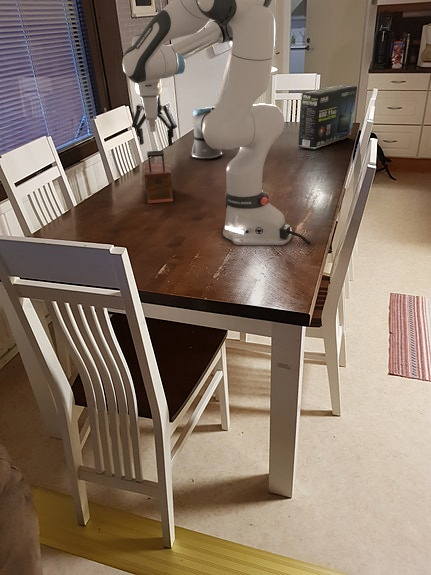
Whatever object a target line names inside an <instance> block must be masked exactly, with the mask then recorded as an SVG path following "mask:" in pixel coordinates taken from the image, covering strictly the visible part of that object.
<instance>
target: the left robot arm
mask: <svg viewBox="0 0 431 575" xmlns="http://www.w3.org/2000/svg"><path fill="white" fill-rule="evenodd" d="M223 23H224V22H223ZM232 42H233V31H232V28H231V26H230V24H229V23H228V24H226V25H225V26H221V25H219V24H218V23H217V22H216V21H214V20H212V21H211V22H210V23H209V26H207V27H204V28H203V29H201V30H200V31H199V32H197V33H195V34H191V35H188V36H186V37H184V38H183V39H181V40H179V41H177V42H175V43H173V44H170V45H169V46H170V47H172V48H173V49H174V51H175V52H176V54H177V57H178V69H177V72H176V73H175V75H176V76H177V75H181V74H183V73H184V72H185V70H186V60H187V59H190V58H191V57H193V56H196V55H197V54H199V53H201V52H203V51H205V50H207V49H209V48H211V47H213V46H215V45H218V46H219V45H223V44H224V43H228V45H229V48H230V49H229V52H228V56H227V60H226V64H225V66H224V73H223V76H222V80H221V83H220V86H219V92H218V94H217V99H216V103H215V104H213V105H212V106H205V107H197V108H194V109H193V110H192V123H193V138H194V139H193V144H192V149H191V158H193V159H195V160H200V161H202V160H204V161H207V160H208V161H209V160H215V159H216V160H217V159H219V158H221V157H222V156H223V151H222V149H212V148H211V147H210V146H209V145H208V144H207V143H206V141H205V139H204V137H203V132H202V128H203V123H204V120H205V118H206V116H207V115H208V114H210V113H211V112H212V111H213V110H214V109H215V107H216V106H217V105H218V103H219V102H220V100H221V98H222V96H223V94H224V92H225V89H226V86H227V83H228V78H229V70H230V62H231V51H232ZM161 100H162V99H161V92H160V93H159V97H158V100H157V119H160V121H161V122H162V123H163V124H164V125H165V127H166V128H167V130H166V132H167V143H168V147H171V146H173V138H174V135H175V134H174V130H175V129H176V128H178V125H177V123H176V120H175V119H174V117H173V115H172V113H171V111H170V108H169V104H165V105H162V101H161ZM135 106H136V108H135V110H136V111H135V114H134V116H133V120H132V123H131V128H134V129H135V130H136V136H137V138H138V142H139V145H140V146H142V145H144V144H145V140H144V139H145V138H144V132H143V127H142V126H143V125H144V123H145V121H146V120H147V119H146V116H145V112H143V114H142V116H141V112H142V111H144V107H143V104H140V103H139V104H137V105H135ZM162 111H163V112H164V113H163V112H162ZM140 117H141V118H140ZM139 118H140V119H139Z"/></svg>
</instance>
